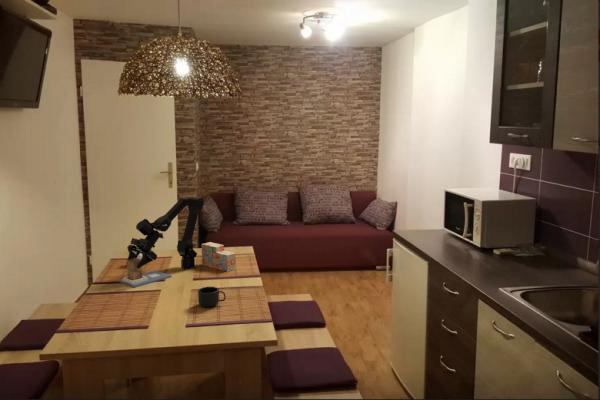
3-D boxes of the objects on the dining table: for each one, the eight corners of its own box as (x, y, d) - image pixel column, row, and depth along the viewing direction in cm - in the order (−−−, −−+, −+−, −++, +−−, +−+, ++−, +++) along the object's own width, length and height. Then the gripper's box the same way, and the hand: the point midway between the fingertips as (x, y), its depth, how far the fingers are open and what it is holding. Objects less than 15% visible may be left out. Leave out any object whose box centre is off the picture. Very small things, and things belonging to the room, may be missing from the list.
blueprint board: (155, 271, 273) (155, 267, 272) (171, 276, 264) (171, 272, 263) (118, 281, 256) (118, 277, 255) (134, 287, 247) (134, 282, 247)
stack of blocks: (235, 269, 278) (235, 247, 276) (227, 272, 273) (226, 249, 271) (210, 262, 291) (209, 241, 289) (201, 264, 287) (201, 243, 285)
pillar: (136, 276, 258) (135, 257, 257) (142, 278, 255) (141, 259, 254) (127, 279, 255) (126, 260, 253) (133, 281, 251) (132, 261, 250)
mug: (196, 309, 220) (196, 293, 219) (200, 301, 229) (199, 286, 228) (224, 308, 220) (224, 293, 219) (227, 301, 229) (226, 286, 228)
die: (138, 269, 279) (147, 254, 282) (124, 261, 278) (134, 246, 281) (140, 270, 287) (149, 255, 289) (126, 263, 286) (135, 248, 289)
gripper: (129, 229, 260) (110, 254, 253) (151, 234, 248) (132, 261, 242) (143, 241, 267) (125, 266, 261) (165, 246, 256) (147, 273, 249)
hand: (132, 266), depth 253 cm, fingers open, 9 cm apart
